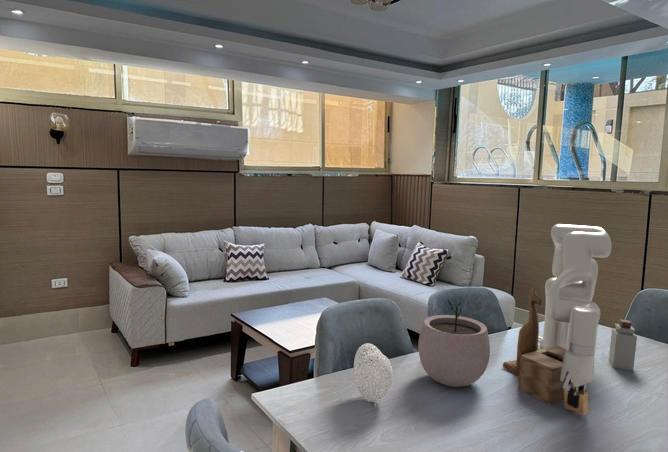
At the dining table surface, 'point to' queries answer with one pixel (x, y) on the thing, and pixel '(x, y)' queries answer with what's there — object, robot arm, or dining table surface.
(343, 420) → the dining table surface
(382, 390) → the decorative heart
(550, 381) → the box
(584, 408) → the tan flat square block
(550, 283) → the robot arm
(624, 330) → the perfume bottle
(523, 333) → the bird sculpture
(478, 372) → the plant pot
